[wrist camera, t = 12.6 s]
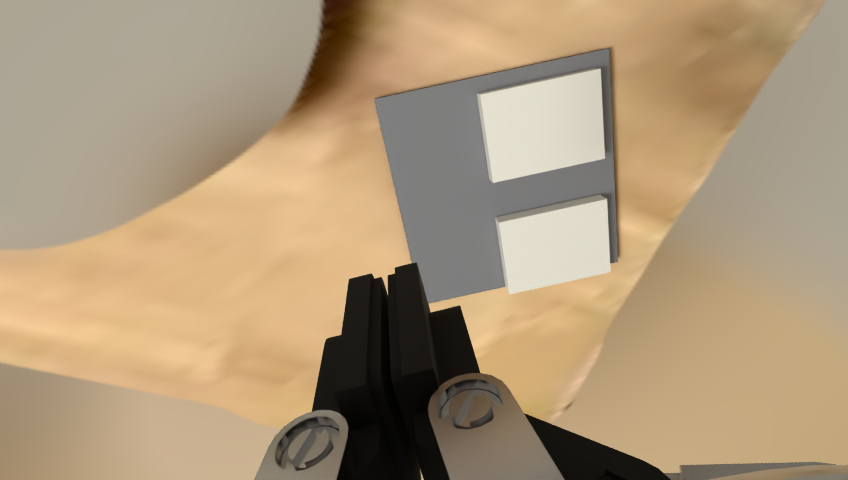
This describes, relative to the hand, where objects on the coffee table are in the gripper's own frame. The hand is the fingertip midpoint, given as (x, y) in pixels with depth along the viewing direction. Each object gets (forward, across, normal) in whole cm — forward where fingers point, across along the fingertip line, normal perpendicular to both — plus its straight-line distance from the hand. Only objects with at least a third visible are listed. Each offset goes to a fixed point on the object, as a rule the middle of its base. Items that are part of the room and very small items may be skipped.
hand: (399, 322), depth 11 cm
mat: (+23, -8, +5) cm, 25 cm away
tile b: (+21, -6, +10) cm, 25 cm away
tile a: (+22, -6, +1) cm, 23 cm away
